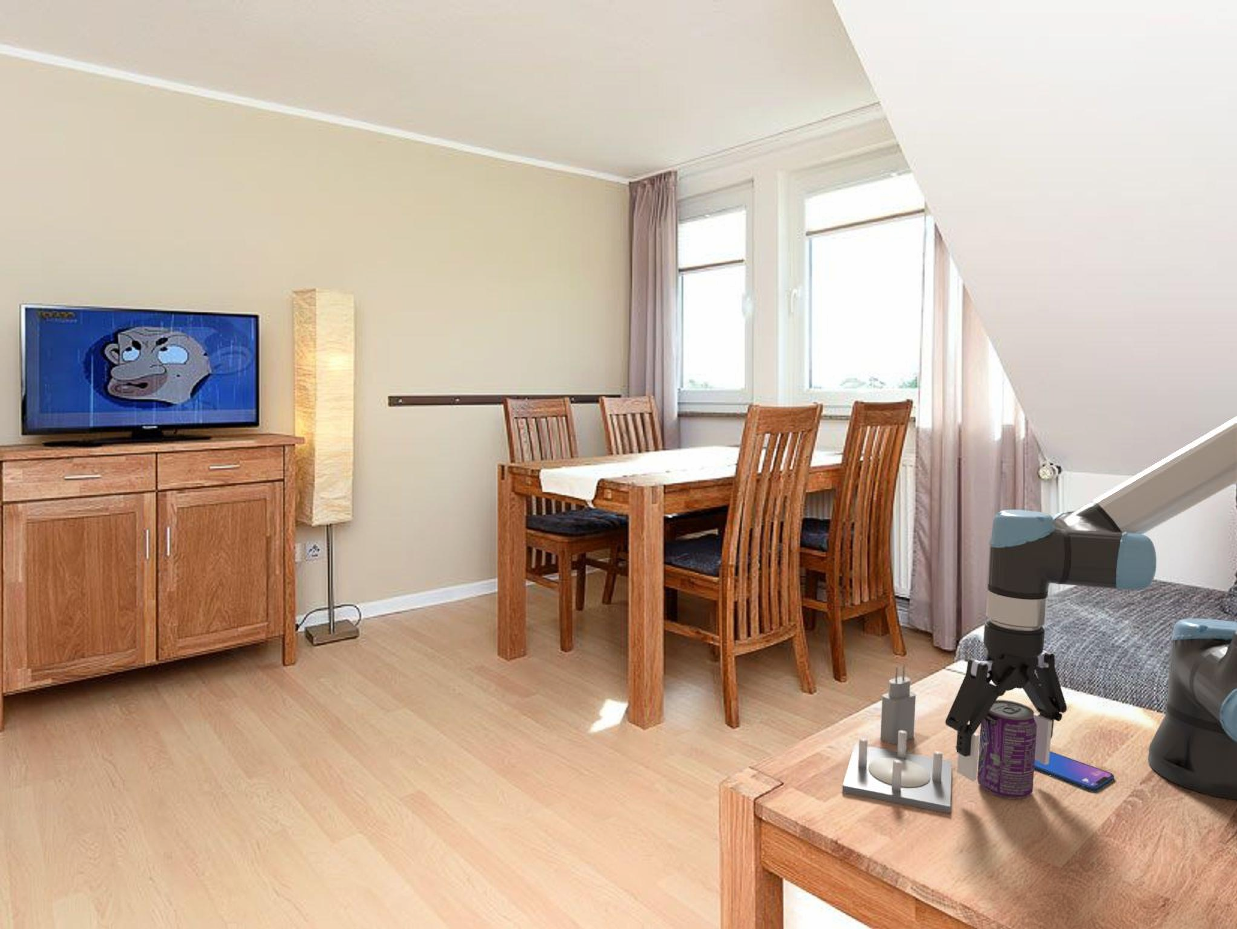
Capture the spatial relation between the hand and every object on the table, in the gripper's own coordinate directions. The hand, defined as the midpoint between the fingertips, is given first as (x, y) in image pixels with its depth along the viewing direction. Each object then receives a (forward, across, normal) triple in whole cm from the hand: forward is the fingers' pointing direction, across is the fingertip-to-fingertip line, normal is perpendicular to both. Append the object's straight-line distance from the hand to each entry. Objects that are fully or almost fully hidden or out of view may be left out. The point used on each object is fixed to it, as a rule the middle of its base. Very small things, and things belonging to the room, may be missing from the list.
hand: (1003, 768), depth 114 cm
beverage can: (+3, 0, 0) cm, 3 cm away
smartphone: (+4, -13, -3) cm, 14 cm away
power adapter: (+4, +2, -19) cm, 19 cm away
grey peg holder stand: (+3, +12, -8) cm, 14 cm away
